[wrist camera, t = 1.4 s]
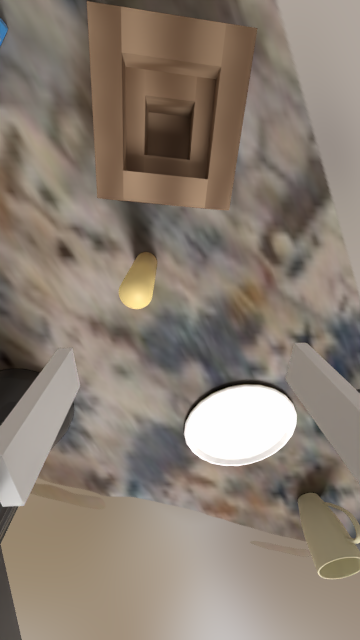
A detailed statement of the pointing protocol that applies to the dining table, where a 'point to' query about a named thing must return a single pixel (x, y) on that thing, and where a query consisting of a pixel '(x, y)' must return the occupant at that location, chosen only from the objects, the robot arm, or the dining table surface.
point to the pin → (139, 282)
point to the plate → (240, 424)
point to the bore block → (167, 105)
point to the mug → (329, 538)
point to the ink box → (2, 30)
